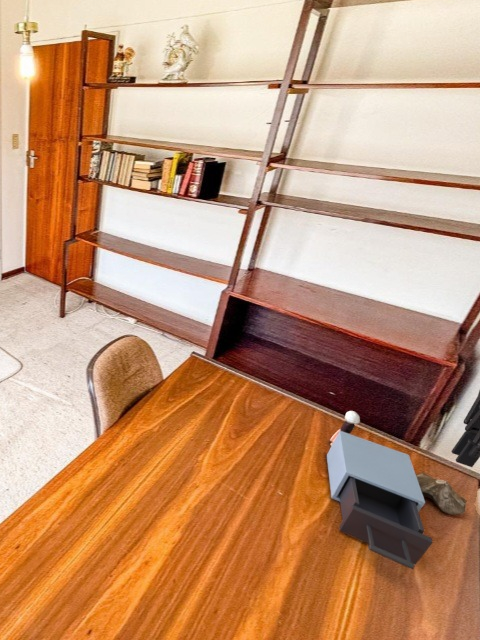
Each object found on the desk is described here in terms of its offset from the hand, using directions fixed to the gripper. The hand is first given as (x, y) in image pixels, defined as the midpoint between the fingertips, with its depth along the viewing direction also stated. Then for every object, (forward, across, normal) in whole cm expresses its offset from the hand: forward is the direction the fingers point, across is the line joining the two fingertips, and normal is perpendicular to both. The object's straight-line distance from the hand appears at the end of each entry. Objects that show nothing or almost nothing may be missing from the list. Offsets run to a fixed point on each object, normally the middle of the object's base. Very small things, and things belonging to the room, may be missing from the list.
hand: (461, 458), depth 94 cm
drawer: (+14, -20, +15) cm, 29 cm away
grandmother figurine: (+15, +7, +20) cm, 25 cm away
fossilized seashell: (+15, 0, 0) cm, 15 cm away
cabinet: (+14, -6, +15) cm, 22 cm away
